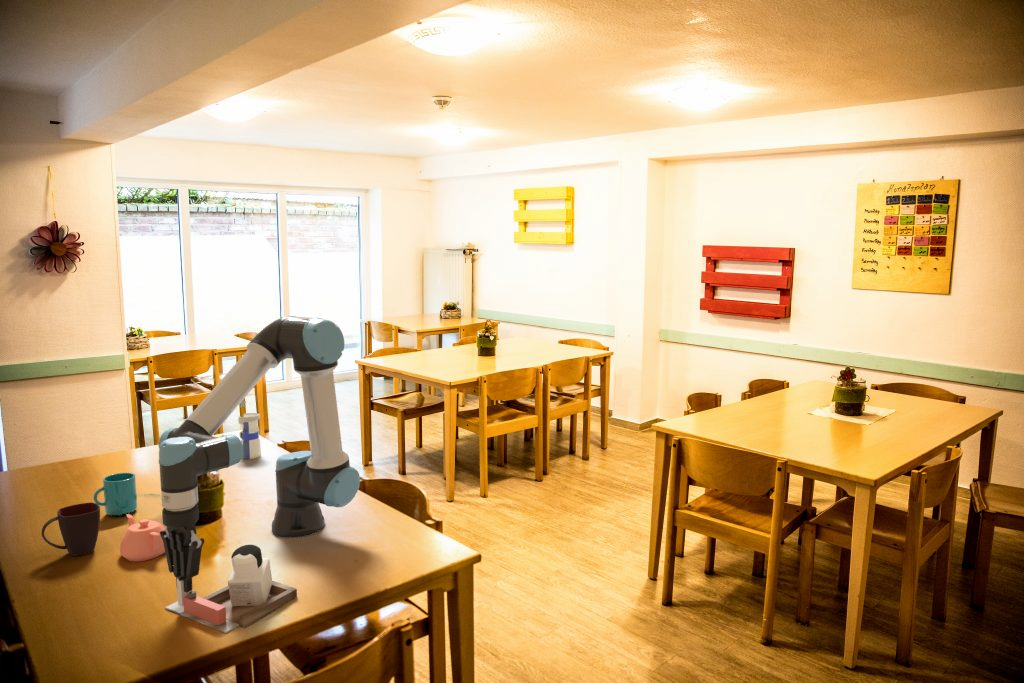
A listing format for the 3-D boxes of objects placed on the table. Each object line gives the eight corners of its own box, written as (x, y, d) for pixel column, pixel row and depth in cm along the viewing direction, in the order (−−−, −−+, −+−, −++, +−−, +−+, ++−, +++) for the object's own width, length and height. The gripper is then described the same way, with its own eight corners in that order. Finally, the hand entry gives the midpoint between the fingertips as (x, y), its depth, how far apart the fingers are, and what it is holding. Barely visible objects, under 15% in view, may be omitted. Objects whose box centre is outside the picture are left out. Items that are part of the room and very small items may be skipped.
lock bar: (183, 611, 163) (182, 592, 163) (191, 607, 165) (190, 588, 164) (218, 625, 157) (217, 605, 157) (226, 621, 159) (225, 601, 159)
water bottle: (234, 465, 272) (232, 402, 269) (246, 459, 281) (244, 397, 278) (254, 467, 271) (252, 403, 268) (266, 460, 280) (263, 398, 276)
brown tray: (165, 608, 165) (164, 598, 165) (233, 576, 182) (232, 567, 181) (231, 635, 154) (230, 624, 154) (297, 598, 171) (296, 588, 170)
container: (240, 583, 173) (233, 540, 167) (273, 582, 173) (267, 540, 168) (231, 607, 165) (223, 563, 160) (264, 606, 166) (258, 562, 161)
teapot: (136, 569, 185) (134, 535, 184) (107, 550, 196) (105, 518, 195) (182, 554, 195) (180, 521, 193) (151, 537, 206) (150, 505, 204)
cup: (91, 512, 224) (89, 478, 222) (133, 503, 232) (131, 470, 230) (98, 521, 217) (95, 485, 216) (140, 511, 225) (138, 477, 224)
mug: (106, 552, 195) (103, 510, 194) (46, 566, 186) (43, 522, 185) (98, 540, 203) (95, 500, 201) (40, 553, 194) (37, 512, 192)
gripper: (147, 505, 161) (152, 602, 164) (183, 516, 155) (188, 617, 158) (177, 495, 168) (181, 589, 171) (213, 506, 161) (217, 603, 164)
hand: (185, 603), depth 164 cm, fingers closed
